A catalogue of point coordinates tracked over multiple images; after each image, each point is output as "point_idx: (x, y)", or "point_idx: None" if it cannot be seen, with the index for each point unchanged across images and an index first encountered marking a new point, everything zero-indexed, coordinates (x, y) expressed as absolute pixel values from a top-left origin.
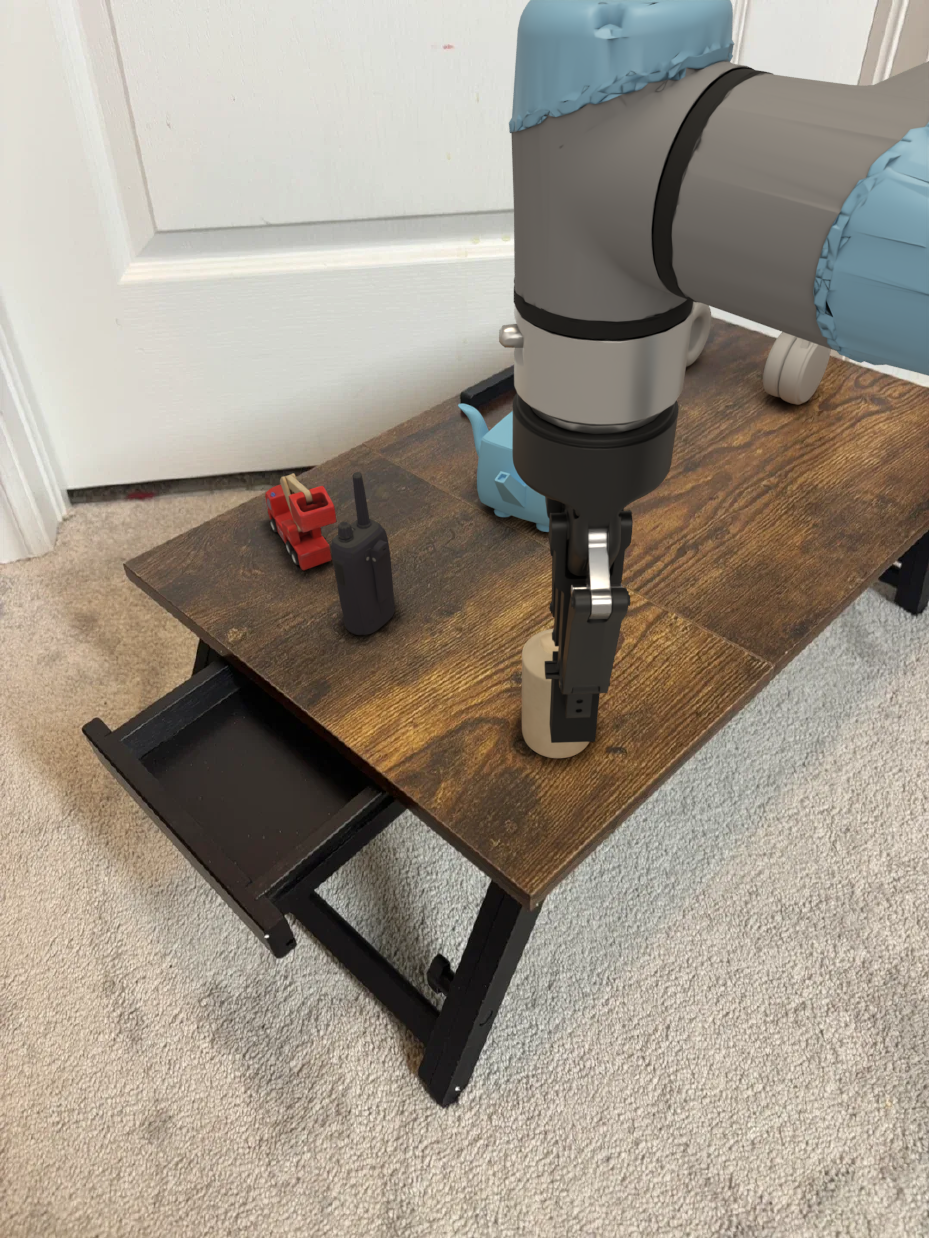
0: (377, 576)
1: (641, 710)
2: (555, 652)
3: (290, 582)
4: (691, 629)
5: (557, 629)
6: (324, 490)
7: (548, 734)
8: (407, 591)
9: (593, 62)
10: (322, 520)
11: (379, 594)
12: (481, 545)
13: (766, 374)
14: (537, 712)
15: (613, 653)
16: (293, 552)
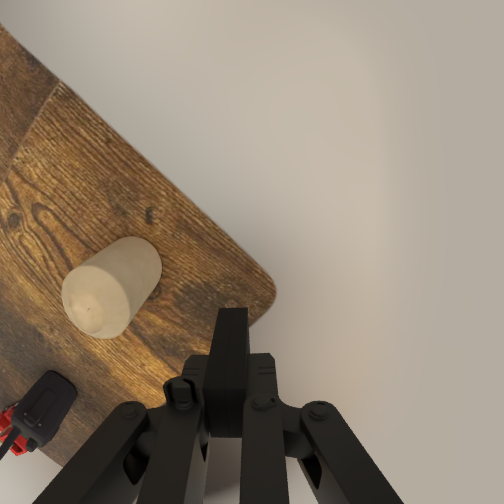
0: (45, 409)
1: (106, 190)
2: (213, 435)
3: None
4: (27, 145)
5: (206, 467)
6: (2, 438)
7: (153, 285)
8: (31, 359)
9: None
10: (20, 436)
11: (52, 399)
12: None
13: None
14: (142, 304)
15: (398, 497)
16: None
